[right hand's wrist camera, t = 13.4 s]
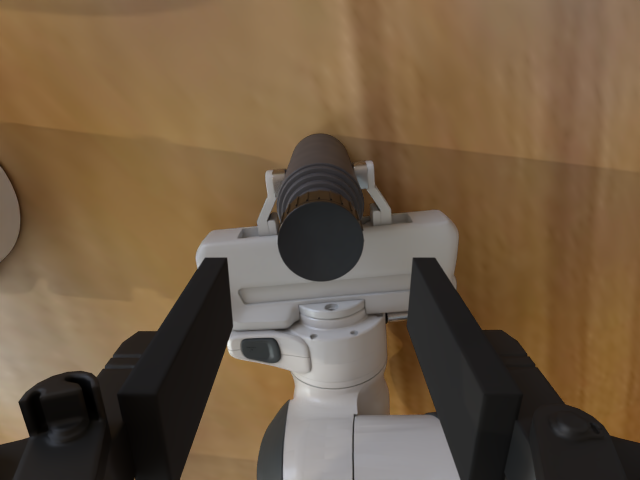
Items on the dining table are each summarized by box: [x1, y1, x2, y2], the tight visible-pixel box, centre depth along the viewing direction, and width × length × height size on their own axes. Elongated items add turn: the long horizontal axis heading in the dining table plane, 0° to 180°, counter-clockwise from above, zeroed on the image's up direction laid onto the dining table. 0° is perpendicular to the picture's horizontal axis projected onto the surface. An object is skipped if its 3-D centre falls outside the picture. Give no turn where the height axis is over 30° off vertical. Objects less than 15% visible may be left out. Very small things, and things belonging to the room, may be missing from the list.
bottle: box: [277, 134, 364, 222], centre depth 28 cm, size 5×5×19 cm
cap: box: [277, 190, 364, 282], centre depth 20 cm, size 4×4×2 cm
